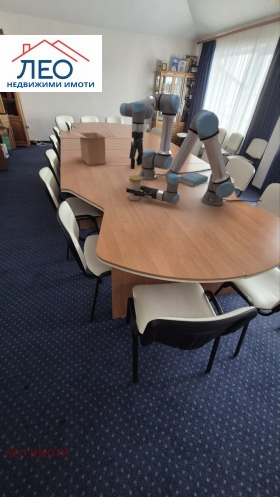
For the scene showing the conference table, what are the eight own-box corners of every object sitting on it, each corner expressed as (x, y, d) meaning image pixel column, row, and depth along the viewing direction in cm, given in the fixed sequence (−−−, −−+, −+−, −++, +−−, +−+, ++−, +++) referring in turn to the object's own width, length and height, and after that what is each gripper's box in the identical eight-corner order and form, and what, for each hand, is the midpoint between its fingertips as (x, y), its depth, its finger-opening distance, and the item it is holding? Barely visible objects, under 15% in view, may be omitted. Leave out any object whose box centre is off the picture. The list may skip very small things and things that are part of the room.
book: (192, 177, 214) (193, 171, 211) (207, 182, 205) (208, 176, 202) (178, 181, 200) (179, 176, 197) (193, 187, 192) (194, 181, 189)
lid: (127, 181, 155) (127, 178, 154) (130, 177, 163) (131, 174, 161) (139, 183, 154) (139, 180, 153) (142, 179, 161) (142, 176, 160)
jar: (127, 199, 164) (128, 179, 155) (130, 195, 170) (131, 175, 161) (138, 201, 162) (139, 180, 153) (141, 196, 169) (142, 177, 160)
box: (116, 165, 229) (116, 136, 213) (83, 168, 214) (80, 137, 198) (102, 154, 259) (101, 128, 243) (71, 156, 244) (68, 129, 228)
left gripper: (139, 128, 149) (137, 162, 162) (124, 132, 132) (123, 170, 145) (149, 129, 147) (146, 163, 160) (135, 134, 130) (134, 172, 143)
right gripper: (152, 205, 152) (122, 198, 158) (161, 194, 167) (134, 188, 174) (153, 194, 147) (122, 187, 154) (163, 184, 163) (135, 179, 169)
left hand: (135, 166), depth 153 cm, fingers open, 10 cm apart
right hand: (129, 188), depth 164 cm, fingers closed on jar, 8 cm apart
